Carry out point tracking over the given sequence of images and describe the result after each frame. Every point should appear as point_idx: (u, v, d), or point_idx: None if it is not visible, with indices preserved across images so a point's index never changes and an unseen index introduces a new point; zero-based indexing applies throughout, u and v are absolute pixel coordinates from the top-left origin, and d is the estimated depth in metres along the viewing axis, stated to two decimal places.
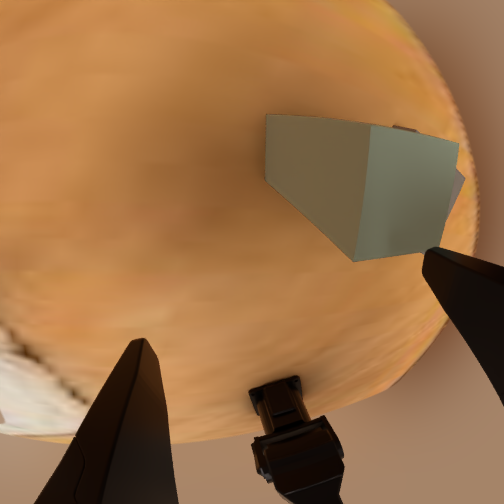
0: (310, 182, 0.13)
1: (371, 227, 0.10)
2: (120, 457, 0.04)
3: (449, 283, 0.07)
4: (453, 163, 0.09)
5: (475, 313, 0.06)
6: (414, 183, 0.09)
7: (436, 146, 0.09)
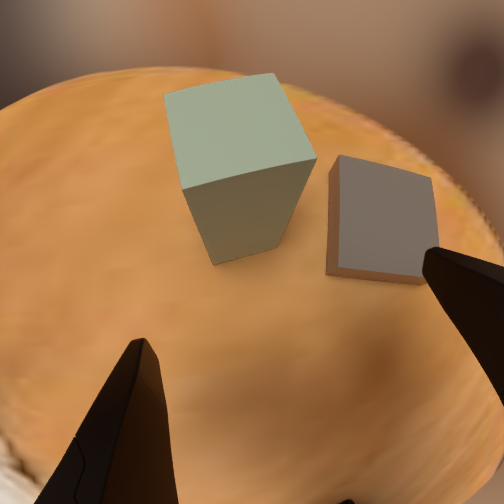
0: None
1: (190, 154, 0.10)
2: (120, 457, 0.04)
3: (449, 283, 0.07)
4: (275, 85, 0.11)
5: (475, 313, 0.06)
6: (227, 110, 0.11)
7: (241, 82, 0.11)
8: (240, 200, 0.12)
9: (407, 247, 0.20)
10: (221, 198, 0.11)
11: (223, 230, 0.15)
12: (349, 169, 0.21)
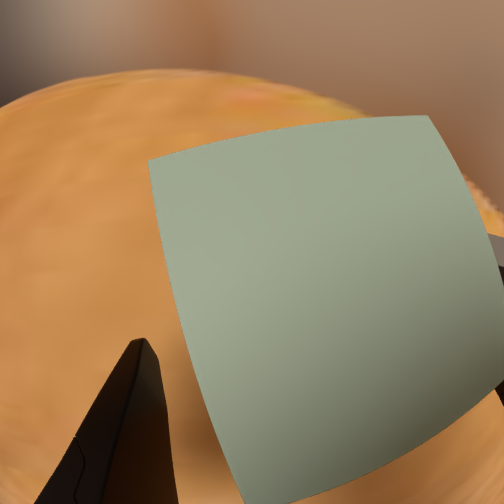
0: None
1: (263, 423, 0.03)
2: (120, 457, 0.04)
3: None
4: (443, 156, 0.04)
5: None
6: (360, 242, 0.04)
7: (372, 135, 0.04)
8: None
9: None
10: None
11: None
12: None
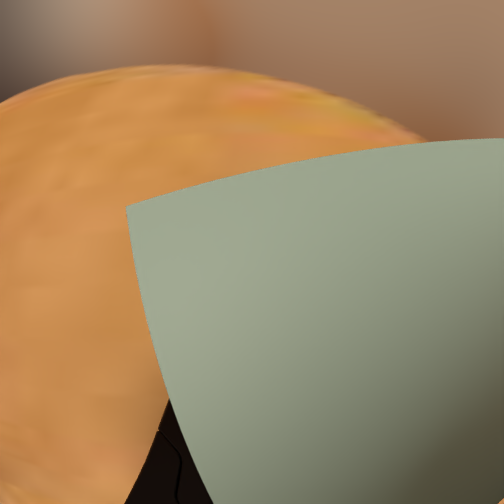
0: None
1: None
2: None
3: None
4: None
5: None
6: (454, 339, 0.02)
7: (460, 167, 0.02)
8: None
9: None
10: None
11: None
12: None
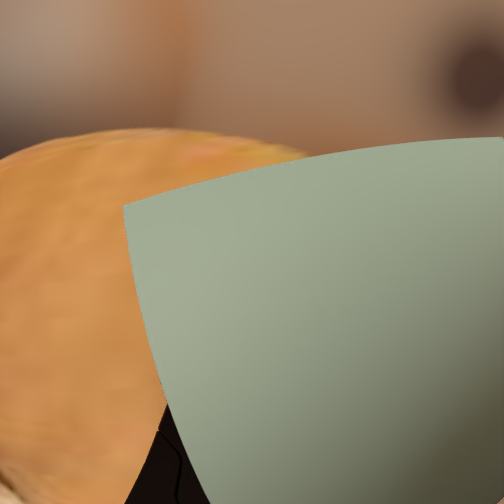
0: None
1: None
2: None
3: None
4: None
5: None
6: (452, 338, 0.02)
7: (457, 165, 0.02)
8: None
9: None
10: None
11: None
12: None
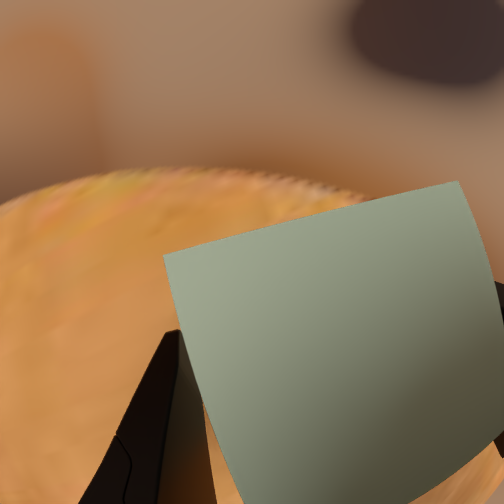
0: None
1: (286, 497, 0.03)
2: (169, 453, 0.04)
3: None
4: (470, 231, 0.04)
5: None
6: (383, 344, 0.03)
7: (404, 215, 0.04)
8: None
9: None
10: None
11: None
12: None
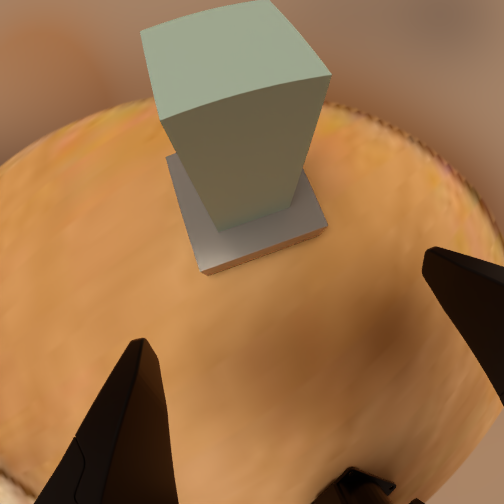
0: None
1: (171, 81, 0.07)
2: (120, 457, 0.04)
3: (449, 283, 0.07)
4: (271, 9, 0.08)
5: (475, 313, 0.06)
6: (215, 34, 0.07)
7: (230, 9, 0.08)
8: (239, 138, 0.09)
9: None
10: (215, 134, 0.08)
11: (224, 183, 0.12)
12: (179, 166, 0.20)
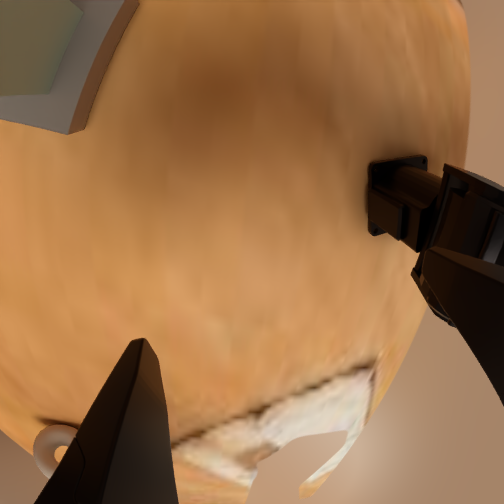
0: None
1: None
2: (120, 457, 0.04)
3: (449, 283, 0.07)
4: None
5: (475, 313, 0.06)
6: None
7: None
8: None
9: None
10: None
11: None
12: None
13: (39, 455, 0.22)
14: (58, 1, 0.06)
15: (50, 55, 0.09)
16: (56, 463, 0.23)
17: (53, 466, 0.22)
